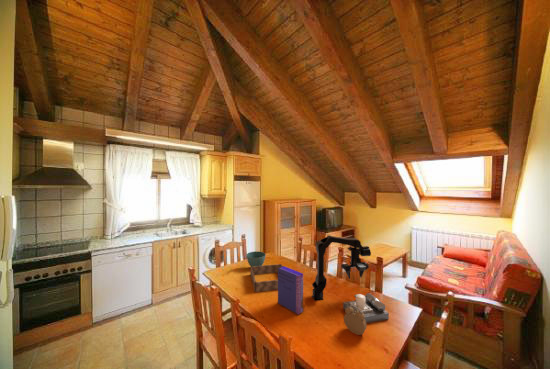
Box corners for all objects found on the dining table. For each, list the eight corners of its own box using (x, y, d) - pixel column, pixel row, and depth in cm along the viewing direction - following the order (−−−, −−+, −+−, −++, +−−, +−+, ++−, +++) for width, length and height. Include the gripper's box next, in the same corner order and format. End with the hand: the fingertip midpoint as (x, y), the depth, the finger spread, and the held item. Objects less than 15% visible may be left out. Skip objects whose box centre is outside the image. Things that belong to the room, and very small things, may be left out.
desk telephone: (358, 325, 117) (358, 309, 117) (343, 308, 132) (343, 294, 132) (388, 319, 121) (388, 304, 121) (370, 304, 137) (370, 290, 137)
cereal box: (303, 311, 129) (303, 273, 129) (298, 314, 126) (298, 275, 126) (282, 300, 141) (282, 265, 141) (277, 303, 138) (278, 267, 138)
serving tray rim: (254, 292, 151) (254, 282, 151) (250, 274, 181) (250, 266, 181) (291, 288, 158) (291, 278, 158) (281, 271, 187) (281, 263, 187)
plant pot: (242, 266, 197) (242, 254, 197) (257, 261, 210) (257, 250, 210) (254, 273, 184) (254, 259, 184) (269, 267, 196) (269, 254, 196)
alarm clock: (367, 335, 108) (367, 307, 108) (363, 341, 105) (363, 311, 105) (346, 325, 116) (346, 299, 116) (342, 330, 112) (342, 303, 112)
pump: (359, 311, 122) (359, 299, 122) (351, 304, 130) (351, 292, 130) (368, 310, 124) (368, 298, 124) (359, 302, 132) (359, 291, 132)
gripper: (350, 261, 136) (349, 284, 137) (374, 259, 141) (374, 281, 141) (341, 255, 147) (340, 277, 147) (363, 253, 152) (363, 274, 152)
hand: (355, 278), depth 147 cm, fingers open, 9 cm apart
